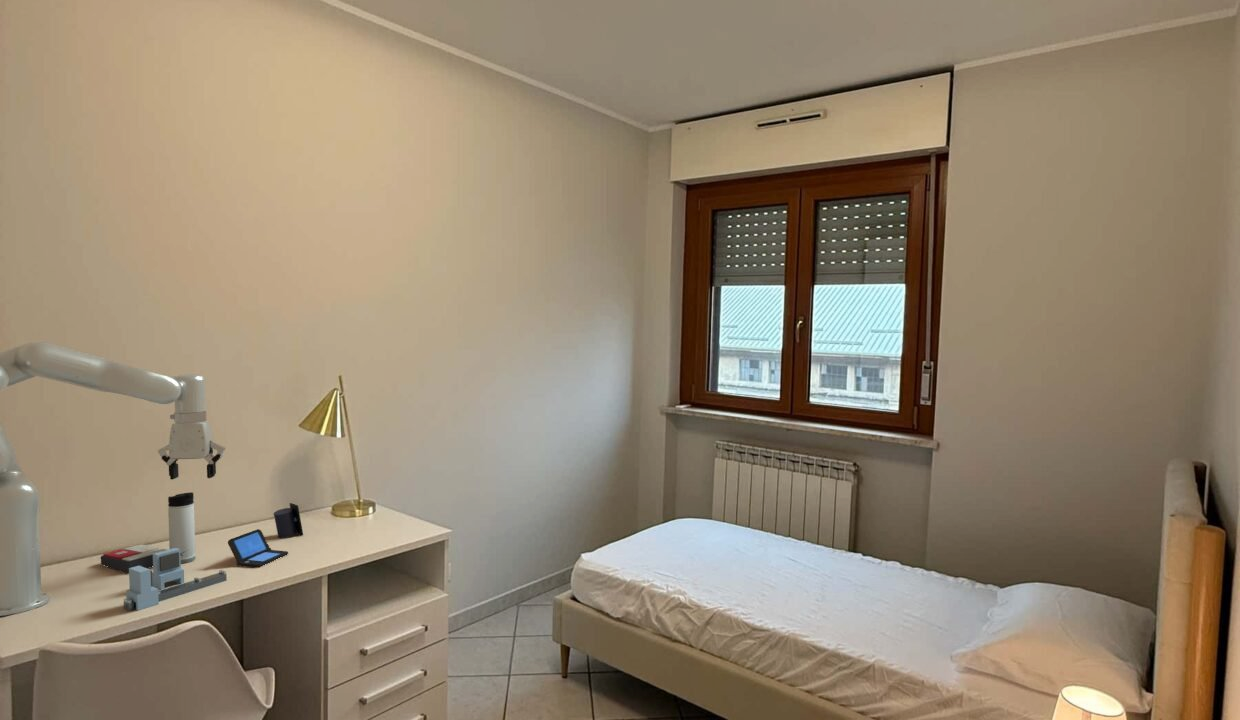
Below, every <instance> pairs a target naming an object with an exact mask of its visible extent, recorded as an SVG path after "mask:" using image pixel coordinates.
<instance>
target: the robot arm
mask: <svg viewBox="0 0 1240 720" xmlns="http://www.w3.org/2000/svg"><path fill="white" fill-rule="evenodd" d="M35 377H39V378H44V379H48V380H51V381H56V382H59V383H60V382H61V383H64V384H69V385H73V386H77V387H80V388H86V389H89V390H94V391H98V392H104V393H111V394H118V395H122V396H128V397H130V398H131V397H132V398H135V399H140V400H144V401H147V402H151V403H153V404H154V403H155V404H159V405H169V404H173V403H174V413H173V414H170V415H169V419H170V420H174V423H172V424H171V427H170V432H169V438H168V439H169V441H168V444H167V445H166V446H163V447H161V448H160V449H157V452H158V454H159V455H160V457H161V460H163V462H165V463H166V466H168V476H169V478H170V479H169V480H175V479H177V478H179V474H180V473H179V464H178V460H197V459H198V460H199V459H204V460H206V462H207V463H208V464H206V478H207V479H212V478H214V477H215V476H216V474H217V468H216V467H217V465H216V464H217V462H218V461H219V460H221V458H222V457H223V454H225V451H226V447H224V446H222V445H220V444H217V442H214V441H213V440H214V439H213V434H212V428H211V425H210V422H209V421H208V420H207V396H206V395H207V393H206V392H207V391H206V389H207V388H206V378H205V376H203V375H202V374H182V375H177V376H176V375H164V374H160V373H157V372H152V371H151V370H150V371H149V370H145V369H143V368H138V367H134V366H130V365H127V364H124V363H121V362H119V361H115V360H113V359H109V358H106V357H101V356H97V355H94V354H90V353H86V352H83V351H79V350H76V349H72V348H68V347H65V346H61V345H58V344H53V343H49V342H44V341H43V342H42V341H31V342H27V343H24V344H21V345H19V346H15V347H13V348H10V349H7V350H4V351H2V352H1V351H0V394H1V393H3V391H5V390H6V389H7V387H11V386H14V385H16V384H20V383H21V382H25V381H27V380H29V379H33V378H35ZM214 450H215V451H217V452H216V454H215V455H214ZM40 505H41V500H40V493H39V490H38V487H36V485H35V484H34V483H33V482H32V481H31V480H30V479H28V478H27V476H26V475H25V472H24V471H23V469H22V467H21V465H20V463H19V461H18V459H17V450H16V448H15V446H14V444H13V443H12V442H11V441H10V440H9V437H8V436H7V434H6V431H5V429H4V428H3V426H2V424H1V423H0V617H2V616H11V615H17V614H20V613H25V612H28V611H32V610H34V609H37V608H39V607H42V606H44V605H46V604H47V603H48V602H49V601H50V599H51V595H50V593H48V592H45V591H44V592H43V591H42V575H41V574H42V571H41V550H40V549H41V547H40V546H41V545H40V544H41V543H40V508H41V507H40Z"/></svg>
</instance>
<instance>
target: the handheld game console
mask: <svg viewBox="0 0 1240 720" xmlns="http://www.w3.org/2000/svg"><path fill="white" fill-rule="evenodd" d="M227 544H228V546H229V549H230V551H231V553H232V555H233V556H234V557H233V558H234V559H235V560H236V566H237V567H244V566H246V567H245V568H254V567H259V568H262V567H264V566H266V565H268V563H269V564H271V563H273V562H275V561H277V560H276V559H278V558H280V557H282V558H284V557H286V556H288V555H289V552H288V551H287V550H286V551H285V550H278V549H277V550H275V549H272V548H271V547H270V545H269V544H268V541H267V540H266V538H265V535H264V533H263V532H262V530H261V529H259V528H258V529H255V530H251V531H249V532H247V533H243V534H241V535H239V536H236V537H232V538H230V539H229V540H228V541H227ZM287 554H288V555H287ZM285 555H286V556H285ZM283 556H284V557H283ZM280 559H281V558H280ZM274 560H275V561H274ZM278 560H279V559H278ZM272 561H273V562H272ZM270 562H271V563H270ZM265 564H266V565H265ZM263 565H264V566H263ZM261 566H262V567H261Z"/></svg>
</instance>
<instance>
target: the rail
mask: <svg viewBox="0 0 1240 720" xmlns="http://www.w3.org/2000/svg"><path fill="white" fill-rule="evenodd" d="M227 579H228V578H227V571H225V570H222V569H219V570H218V572H217V573H215V574H211V575H207V576H204V577H201V578H199V577H194V578H193V580H190V581H187V582H184V583H182V584H180V583H179V584H177V585H174V586H171V587H167V588H164V589H162V590H160V589H159V590H158V599H159V602H163V601H166V600H168V599H172V598H176V597H178V596H181V595H185V594H189V593H191V592H195V591H197V590H201V589H203V588H207V587H210V586H213V585H216V584H220V583H224V582H226V581H227ZM123 610H125V611H127V612H131V611H134V610H136V602H134V601H131V600H130V599H127V598H123Z"/></svg>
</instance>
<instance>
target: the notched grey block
mask: <svg viewBox="0 0 1240 720" xmlns="http://www.w3.org/2000/svg"><path fill="white" fill-rule="evenodd" d="M181 565H182V564H181V558H180V549H178V548H173V549H170V548H169V549H167V550H165V551H162V552H158V553H154V554H153V567H152V587H155V588H158V590H159V591H160V590H164V589H165V583H168V582H171V581H172V582H175V583H177V584H179V585H180V584H184V583H185V569H184V568H182V566H181Z"/></svg>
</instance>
